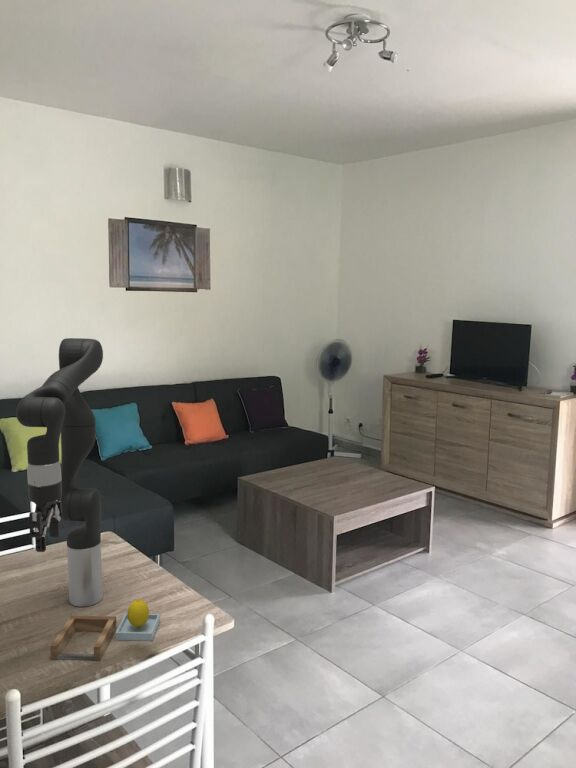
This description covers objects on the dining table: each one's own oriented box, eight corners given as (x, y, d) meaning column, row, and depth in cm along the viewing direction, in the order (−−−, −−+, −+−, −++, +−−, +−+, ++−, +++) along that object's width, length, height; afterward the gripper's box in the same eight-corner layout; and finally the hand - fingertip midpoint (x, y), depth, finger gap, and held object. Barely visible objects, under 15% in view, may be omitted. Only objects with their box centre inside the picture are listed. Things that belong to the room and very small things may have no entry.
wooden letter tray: (71, 627, 168) (70, 615, 167) (116, 628, 168) (116, 616, 167) (51, 659, 154) (50, 646, 153) (100, 660, 154) (99, 647, 153)
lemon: (140, 619, 171) (139, 592, 169) (153, 626, 167) (153, 598, 166) (123, 628, 166) (122, 599, 165) (136, 635, 163) (135, 607, 162)
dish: (125, 620, 172) (125, 613, 171) (160, 620, 172) (159, 614, 171) (115, 639, 162) (115, 632, 162) (152, 640, 162) (152, 633, 162)
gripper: (40, 470, 157) (44, 531, 160) (16, 489, 143) (20, 556, 146) (70, 470, 157) (73, 532, 160) (48, 489, 143) (52, 557, 146)
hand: (48, 543), depth 153 cm, fingers open, 8 cm apart
